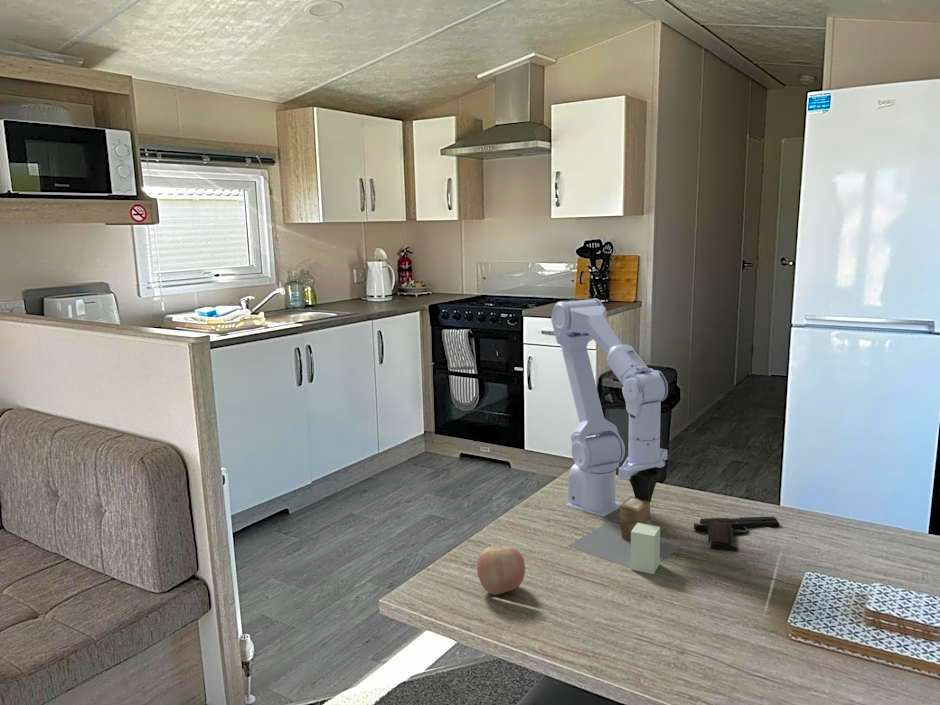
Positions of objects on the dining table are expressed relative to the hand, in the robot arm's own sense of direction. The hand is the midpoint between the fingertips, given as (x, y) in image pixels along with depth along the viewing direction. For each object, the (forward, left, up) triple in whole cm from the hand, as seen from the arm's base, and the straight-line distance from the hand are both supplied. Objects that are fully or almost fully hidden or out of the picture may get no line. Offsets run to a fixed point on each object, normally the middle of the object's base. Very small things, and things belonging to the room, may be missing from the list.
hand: (643, 504), depth 137 cm
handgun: (+15, +12, -7) cm, 20 cm away
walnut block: (0, -2, -6) cm, 6 cm away
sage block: (+7, -11, -6) cm, 14 cm away
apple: (-7, -33, -7) cm, 34 cm away
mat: (0, -6, -6) cm, 9 cm away
